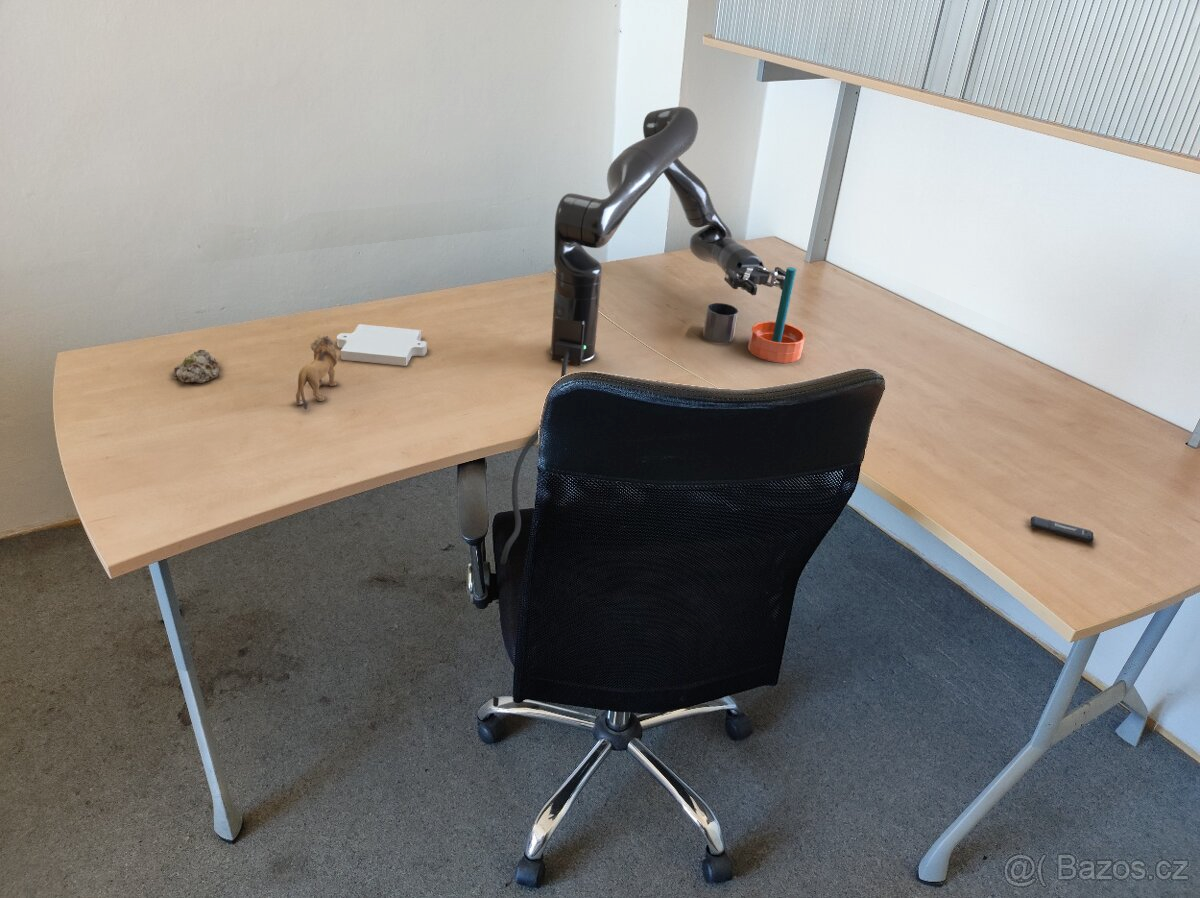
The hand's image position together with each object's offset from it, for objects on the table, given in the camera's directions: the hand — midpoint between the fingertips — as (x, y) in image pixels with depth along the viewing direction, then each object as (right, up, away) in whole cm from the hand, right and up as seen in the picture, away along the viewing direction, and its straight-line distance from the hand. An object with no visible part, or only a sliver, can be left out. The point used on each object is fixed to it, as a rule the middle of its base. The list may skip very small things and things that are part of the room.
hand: (772, 290), depth 193 cm
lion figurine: (-90, -24, -29) cm, 98 cm away
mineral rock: (-113, -20, -27) cm, 118 cm away
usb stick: (+38, -49, -48) cm, 78 cm away
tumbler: (-11, -10, +7) cm, 16 cm away
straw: (+1, -13, +2) cm, 13 cm away
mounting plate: (-82, -14, -12) cm, 84 cm away
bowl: (+1, -13, +2) cm, 14 cm away
